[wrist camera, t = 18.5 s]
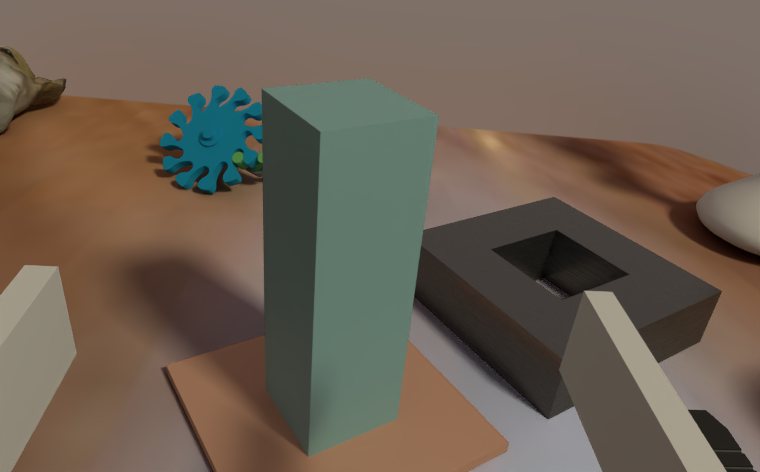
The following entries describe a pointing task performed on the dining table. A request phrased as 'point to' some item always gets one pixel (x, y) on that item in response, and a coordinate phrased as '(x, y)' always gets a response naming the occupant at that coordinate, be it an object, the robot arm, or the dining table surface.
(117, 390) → the dining table surface
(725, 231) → the flower in vase
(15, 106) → the ceramic sculpture
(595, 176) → the dining table surface
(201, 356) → the mat
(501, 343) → the socket block
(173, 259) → the dining table surface
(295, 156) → the peg
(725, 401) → the dining table surface
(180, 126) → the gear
